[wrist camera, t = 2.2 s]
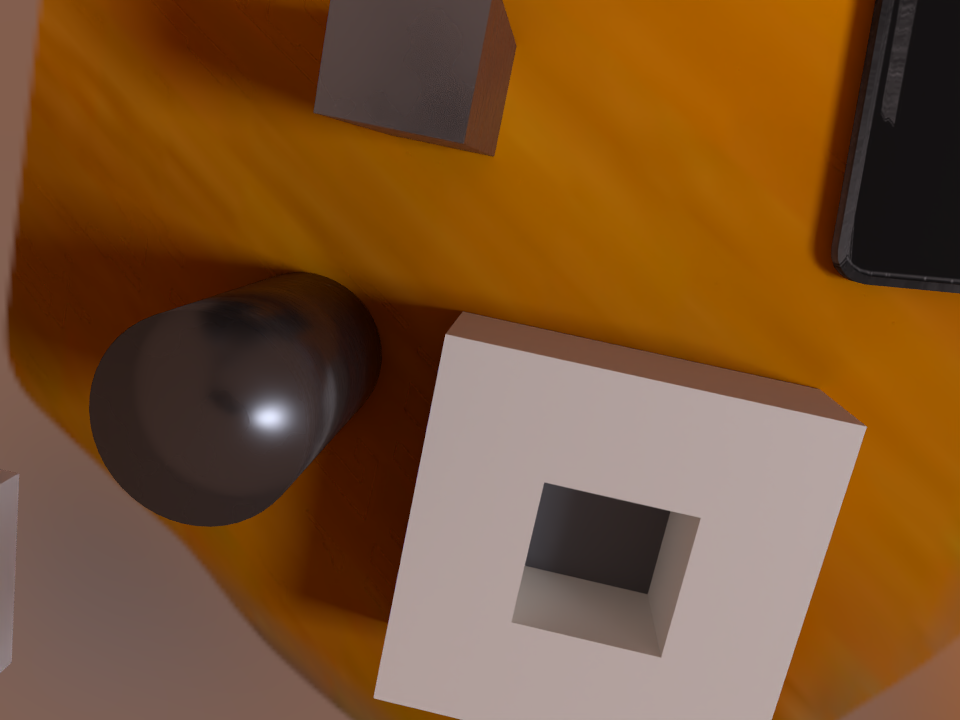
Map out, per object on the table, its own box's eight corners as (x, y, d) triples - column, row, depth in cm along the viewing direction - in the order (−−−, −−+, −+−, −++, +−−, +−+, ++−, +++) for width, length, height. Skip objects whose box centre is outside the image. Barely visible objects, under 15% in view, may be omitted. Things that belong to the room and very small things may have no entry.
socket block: (462, 311, 32) (445, 334, 27) (819, 389, 31) (866, 426, 27) (399, 627, 35) (373, 698, 30) (722, 704, 35) (748, 789, 30)
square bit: (409, 24, 30) (338, -52, 20) (516, 45, 30) (495, -22, 20) (390, 135, 31) (313, 112, 21) (494, 156, 31) (463, 143, 21)
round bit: (237, 257, 33) (100, 288, 23) (394, 291, 32) (322, 337, 23) (217, 409, 34) (79, 499, 24) (367, 443, 34) (288, 548, 24)
